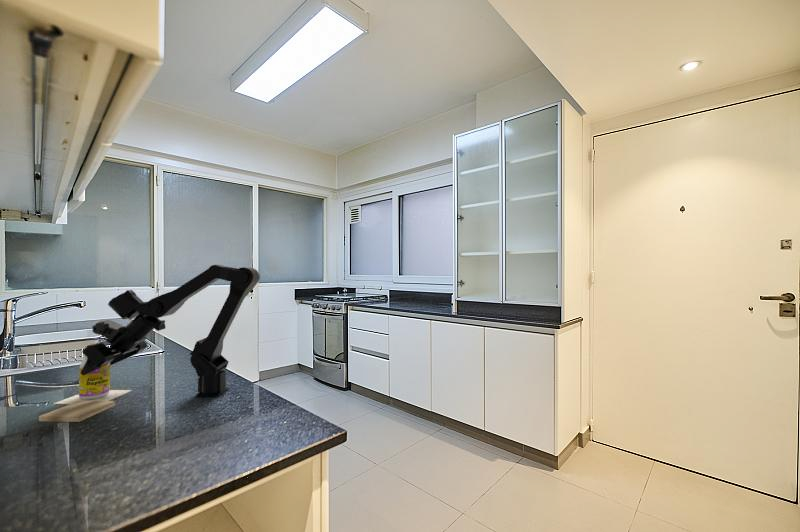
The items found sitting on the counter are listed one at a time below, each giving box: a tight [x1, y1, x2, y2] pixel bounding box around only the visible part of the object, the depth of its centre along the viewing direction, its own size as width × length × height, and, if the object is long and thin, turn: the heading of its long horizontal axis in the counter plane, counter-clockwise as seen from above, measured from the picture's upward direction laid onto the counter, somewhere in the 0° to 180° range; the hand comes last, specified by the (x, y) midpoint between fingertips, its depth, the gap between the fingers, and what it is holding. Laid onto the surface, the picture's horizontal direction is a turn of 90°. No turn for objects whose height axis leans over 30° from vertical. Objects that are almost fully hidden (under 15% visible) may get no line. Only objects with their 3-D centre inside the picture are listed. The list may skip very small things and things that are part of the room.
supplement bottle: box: [78, 354, 111, 400], centre depth 100 cm, size 7×7×13 cm
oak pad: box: [38, 400, 116, 423], centre depth 89 cm, size 10×10×1 cm
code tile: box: [52, 389, 133, 405], centre depth 100 cm, size 13×11×1 cm
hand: (95, 369), depth 100 cm, fingers open, 9 cm apart
